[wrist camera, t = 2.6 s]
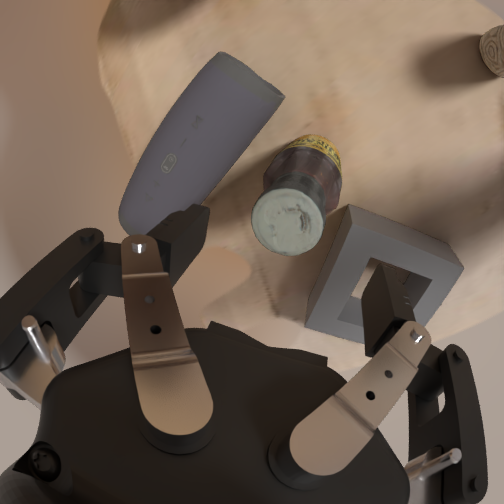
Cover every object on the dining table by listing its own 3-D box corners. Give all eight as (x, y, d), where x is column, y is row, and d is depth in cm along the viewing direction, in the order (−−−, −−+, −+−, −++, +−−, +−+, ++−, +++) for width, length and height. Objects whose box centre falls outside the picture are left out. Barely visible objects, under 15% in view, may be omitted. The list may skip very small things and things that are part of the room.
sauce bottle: (347, 145, 30) (377, 201, 13) (327, 191, 33) (326, 292, 16) (294, 124, 30) (256, 150, 13) (277, 171, 33) (224, 250, 17)
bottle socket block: (448, 244, 32) (466, 271, 26) (397, 326, 40) (403, 357, 34) (348, 203, 33) (353, 226, 27) (308, 299, 42) (303, 331, 36)
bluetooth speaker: (233, 55, 27) (199, 40, 19) (294, 101, 29) (282, 99, 20) (142, 186, 39) (99, 212, 31) (188, 226, 40) (153, 261, 32)
